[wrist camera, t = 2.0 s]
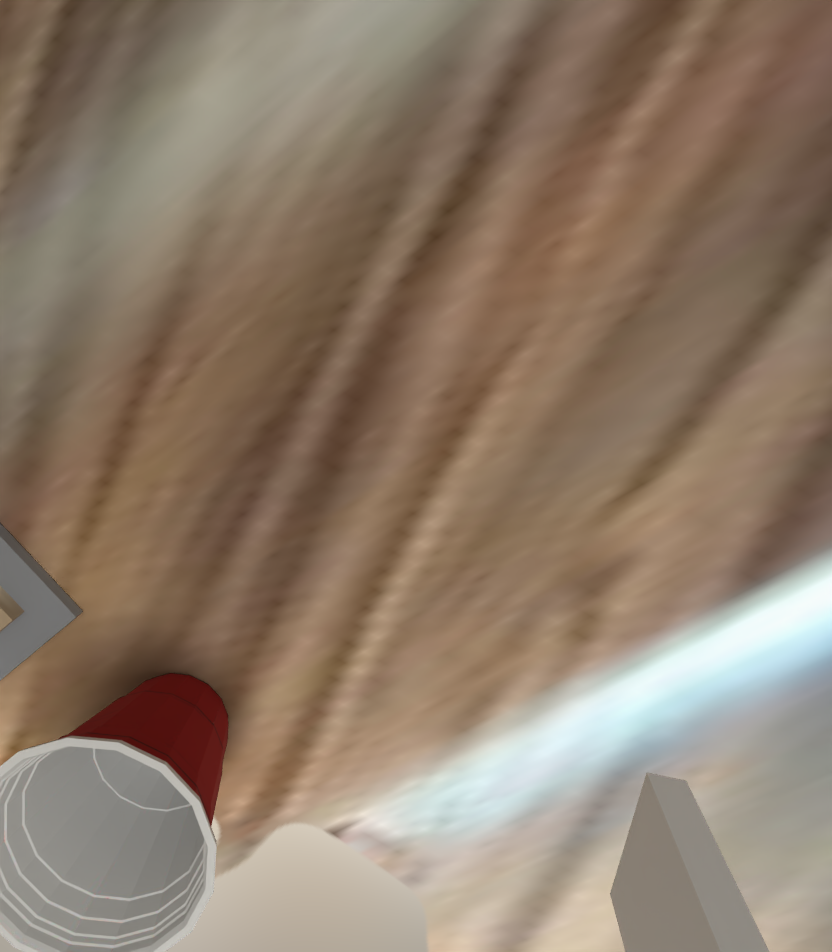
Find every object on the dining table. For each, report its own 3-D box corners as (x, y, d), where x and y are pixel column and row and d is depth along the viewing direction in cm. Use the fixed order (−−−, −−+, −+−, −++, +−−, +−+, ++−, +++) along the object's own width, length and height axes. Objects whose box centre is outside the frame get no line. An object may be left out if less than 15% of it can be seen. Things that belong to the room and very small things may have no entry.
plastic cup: (315, 707, 44) (264, 855, 32) (203, 835, 46) (116, 1018, 34) (158, 588, 43) (46, 696, 31) (50, 724, 45) (-93, 874, 33)
